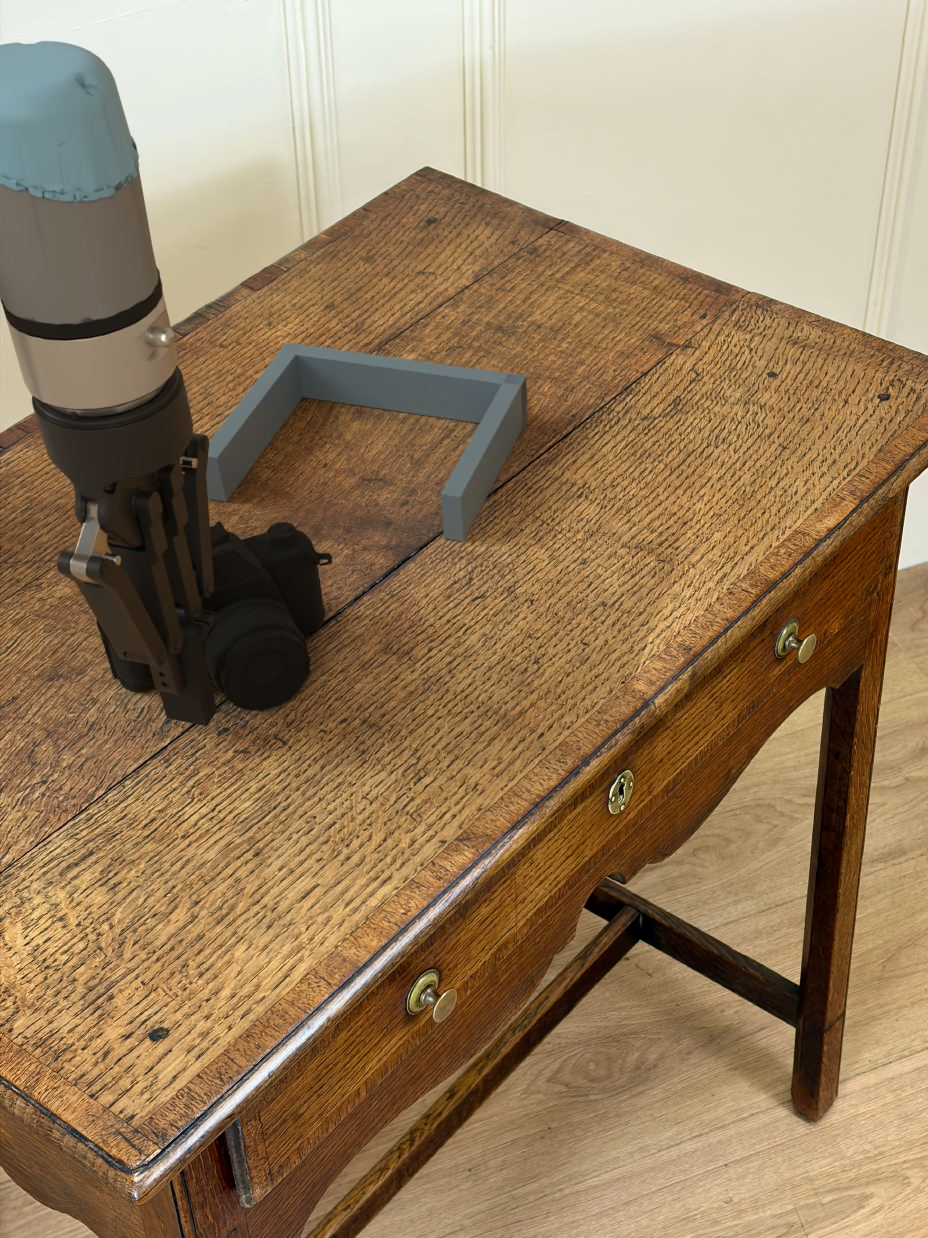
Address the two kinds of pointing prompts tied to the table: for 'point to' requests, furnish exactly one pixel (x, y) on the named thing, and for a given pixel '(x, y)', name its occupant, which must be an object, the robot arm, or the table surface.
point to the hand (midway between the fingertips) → (192, 714)
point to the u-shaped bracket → (383, 387)
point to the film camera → (252, 618)
